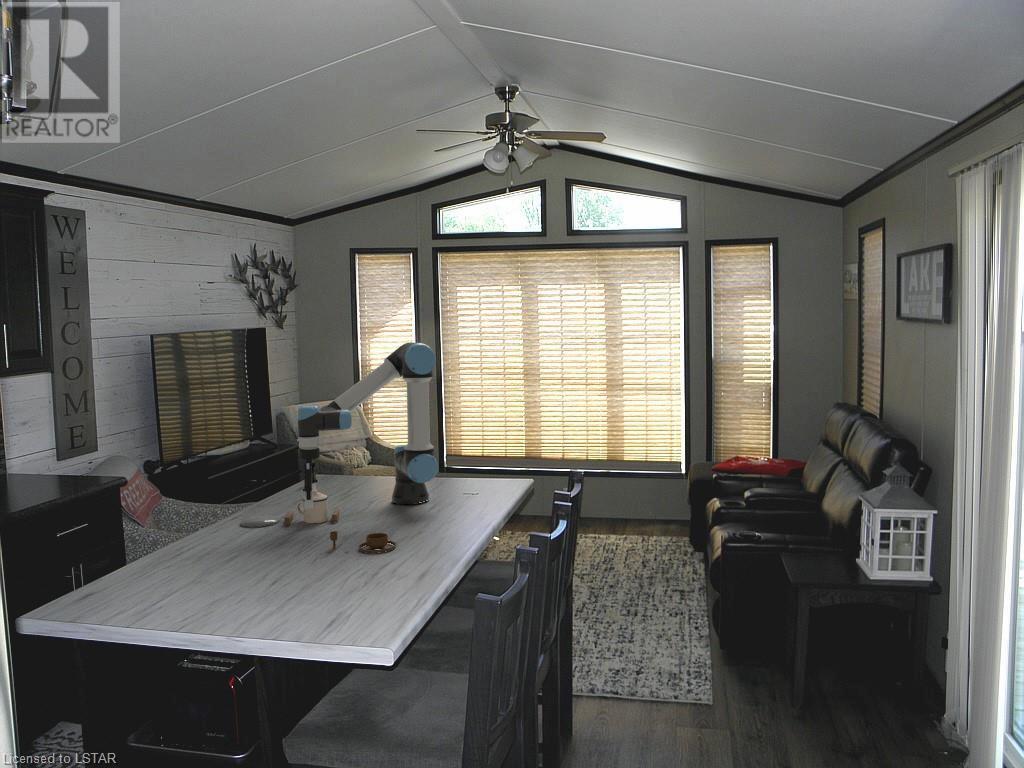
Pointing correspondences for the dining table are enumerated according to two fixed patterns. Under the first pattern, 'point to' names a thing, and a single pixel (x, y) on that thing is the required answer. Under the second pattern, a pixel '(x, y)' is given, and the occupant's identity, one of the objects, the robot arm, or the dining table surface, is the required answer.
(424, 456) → the robot arm
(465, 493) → the dining table surface
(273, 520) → the grey flat disc
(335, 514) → the walnut cradle
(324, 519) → the teacup with lid
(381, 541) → the place setting
